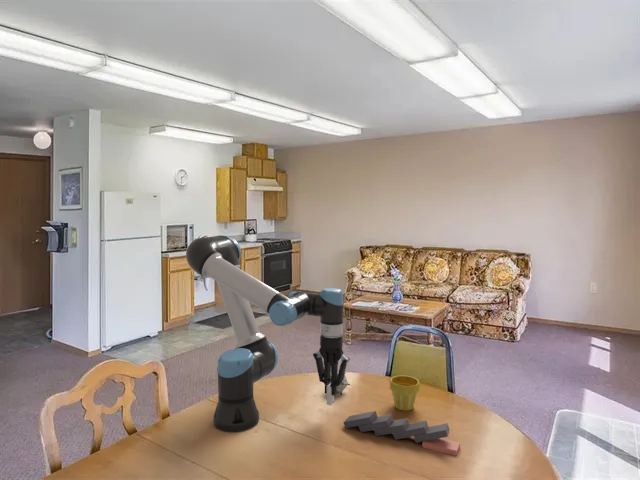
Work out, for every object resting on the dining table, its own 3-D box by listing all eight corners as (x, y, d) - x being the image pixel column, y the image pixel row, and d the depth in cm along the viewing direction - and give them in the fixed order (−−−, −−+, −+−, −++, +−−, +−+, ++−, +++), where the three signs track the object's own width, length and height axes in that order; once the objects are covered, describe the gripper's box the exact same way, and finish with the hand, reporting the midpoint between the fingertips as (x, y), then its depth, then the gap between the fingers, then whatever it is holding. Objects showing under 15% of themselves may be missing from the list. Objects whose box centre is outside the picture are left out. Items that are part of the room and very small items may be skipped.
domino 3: (373, 429, 144) (402, 424, 139) (378, 423, 148) (407, 418, 144) (376, 436, 144) (405, 431, 139) (381, 429, 148) (409, 424, 144)
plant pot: (424, 410, 161) (425, 383, 161) (399, 415, 158) (399, 387, 157) (408, 398, 171) (409, 373, 170) (384, 403, 167) (384, 377, 166)
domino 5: (413, 436, 138) (445, 429, 135) (416, 429, 143) (447, 423, 139) (416, 442, 138) (447, 436, 134) (418, 435, 143) (449, 429, 139)
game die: (342, 400, 178) (357, 381, 178) (332, 400, 172) (348, 380, 171) (327, 384, 184) (343, 365, 183) (317, 383, 177) (332, 363, 176)
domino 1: (343, 422, 149) (369, 417, 144) (349, 416, 153) (375, 410, 148) (345, 428, 149) (371, 423, 144) (351, 421, 153) (377, 416, 148)
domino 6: (426, 441, 141) (459, 449, 136) (422, 449, 137) (456, 457, 132) (426, 435, 141) (459, 442, 136) (422, 442, 137) (456, 450, 132)
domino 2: (358, 426, 146) (386, 420, 141) (364, 419, 150) (391, 414, 146) (360, 432, 146) (388, 427, 141) (366, 425, 150) (393, 420, 146)
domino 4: (393, 433, 141) (423, 427, 137) (396, 426, 145) (426, 420, 142) (395, 439, 141) (426, 433, 137) (398, 432, 145) (428, 426, 142)
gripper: (308, 334, 152) (308, 403, 154) (344, 341, 145) (342, 412, 147) (319, 329, 158) (319, 395, 160) (354, 335, 152) (352, 403, 154)
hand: (330, 403), depth 154 cm, fingers closed
